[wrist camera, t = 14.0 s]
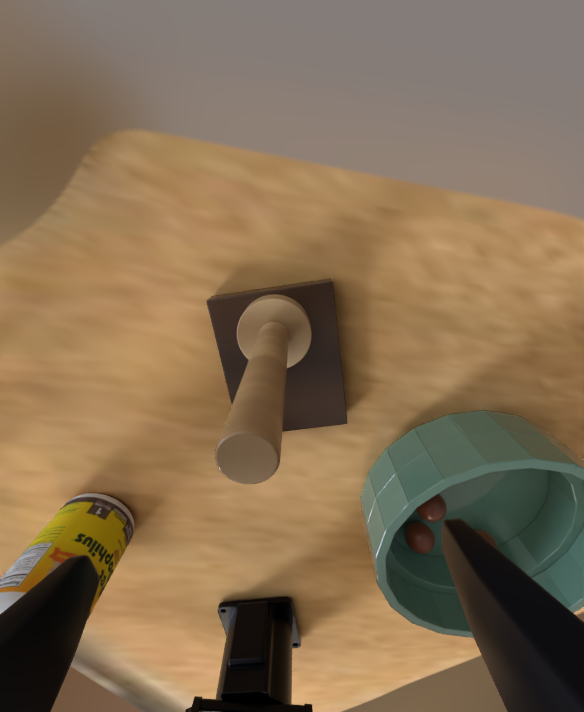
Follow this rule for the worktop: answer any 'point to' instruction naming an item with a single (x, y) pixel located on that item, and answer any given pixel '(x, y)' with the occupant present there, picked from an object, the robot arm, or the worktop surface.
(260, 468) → the wooden pestle
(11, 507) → the worktop surface
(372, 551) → the bowl
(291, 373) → the dark grey slate tile
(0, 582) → the supplement bottle
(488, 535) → the bead
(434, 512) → the bead
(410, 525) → the bead
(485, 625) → the robot arm
